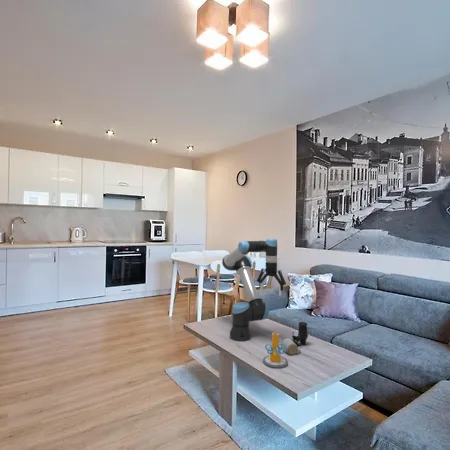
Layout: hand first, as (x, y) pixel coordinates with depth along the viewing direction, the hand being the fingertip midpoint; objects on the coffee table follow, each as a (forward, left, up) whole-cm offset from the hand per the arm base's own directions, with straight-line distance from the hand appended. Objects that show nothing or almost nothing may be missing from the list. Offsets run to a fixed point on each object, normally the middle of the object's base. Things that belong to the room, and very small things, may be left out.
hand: (270, 294), depth 202 cm
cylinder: (+15, -24, -31) cm, 42 cm away
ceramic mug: (+17, -5, -33) cm, 37 cm away
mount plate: (+15, -24, -33) cm, 43 cm away
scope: (+17, +11, -33) cm, 39 cm away
